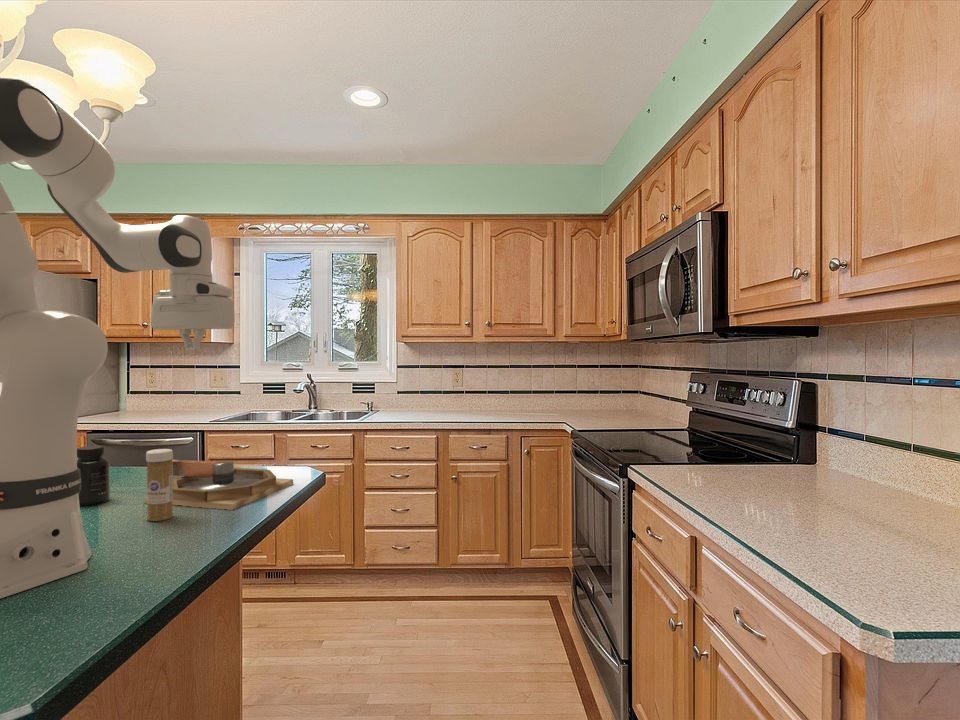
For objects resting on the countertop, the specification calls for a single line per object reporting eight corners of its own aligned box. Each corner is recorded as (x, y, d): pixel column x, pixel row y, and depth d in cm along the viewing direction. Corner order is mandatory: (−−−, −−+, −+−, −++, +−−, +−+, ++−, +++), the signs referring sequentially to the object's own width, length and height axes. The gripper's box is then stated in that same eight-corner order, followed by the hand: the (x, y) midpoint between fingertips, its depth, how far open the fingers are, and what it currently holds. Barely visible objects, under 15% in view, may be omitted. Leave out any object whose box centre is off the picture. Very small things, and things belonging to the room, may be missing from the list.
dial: (277, 479, 133) (277, 457, 133) (232, 498, 116) (231, 472, 116) (201, 475, 137) (201, 453, 137) (147, 493, 121) (147, 468, 121)
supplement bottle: (63, 505, 117) (62, 449, 117) (95, 496, 124) (94, 443, 124) (86, 508, 115) (85, 450, 115) (117, 499, 122) (116, 445, 121)
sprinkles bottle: (143, 523, 105) (142, 453, 105) (150, 516, 109) (149, 448, 109) (170, 520, 106) (169, 451, 106) (176, 514, 111) (175, 447, 110)
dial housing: (232, 510, 113) (231, 494, 113) (144, 503, 119) (144, 487, 118) (293, 484, 135) (293, 470, 134) (216, 479, 140) (216, 466, 140)
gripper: (142, 289, 126) (143, 349, 126) (219, 286, 121) (220, 349, 121) (164, 291, 132) (165, 349, 132) (238, 289, 127) (239, 349, 127)
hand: (192, 349), depth 127 cm, fingers closed
